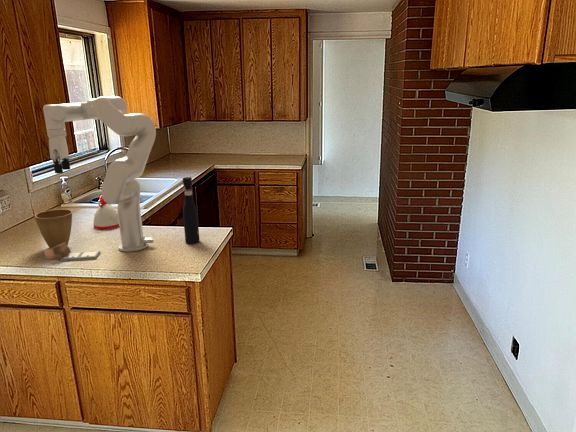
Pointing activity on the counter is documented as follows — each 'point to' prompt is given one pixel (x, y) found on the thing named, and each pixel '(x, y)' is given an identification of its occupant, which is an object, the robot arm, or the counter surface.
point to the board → (81, 256)
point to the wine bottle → (190, 214)
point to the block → (61, 250)
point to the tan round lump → (50, 254)
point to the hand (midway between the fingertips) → (62, 171)
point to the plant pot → (55, 226)
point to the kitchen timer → (106, 217)
